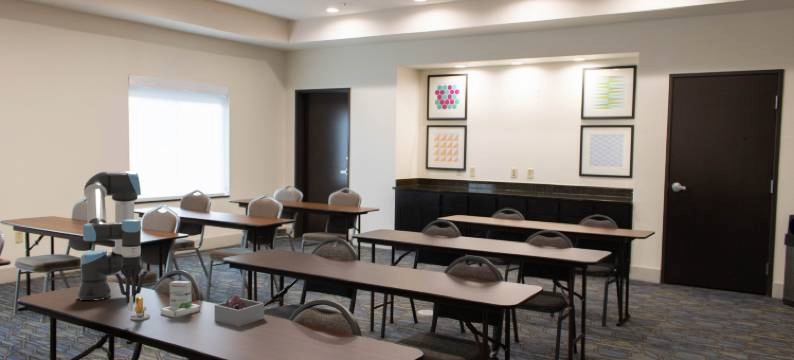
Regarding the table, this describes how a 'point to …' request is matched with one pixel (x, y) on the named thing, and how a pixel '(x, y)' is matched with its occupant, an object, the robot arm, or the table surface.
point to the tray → (179, 311)
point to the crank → (139, 306)
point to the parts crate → (240, 313)
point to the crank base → (140, 317)
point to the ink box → (180, 294)
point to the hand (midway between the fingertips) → (130, 310)
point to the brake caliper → (235, 303)
